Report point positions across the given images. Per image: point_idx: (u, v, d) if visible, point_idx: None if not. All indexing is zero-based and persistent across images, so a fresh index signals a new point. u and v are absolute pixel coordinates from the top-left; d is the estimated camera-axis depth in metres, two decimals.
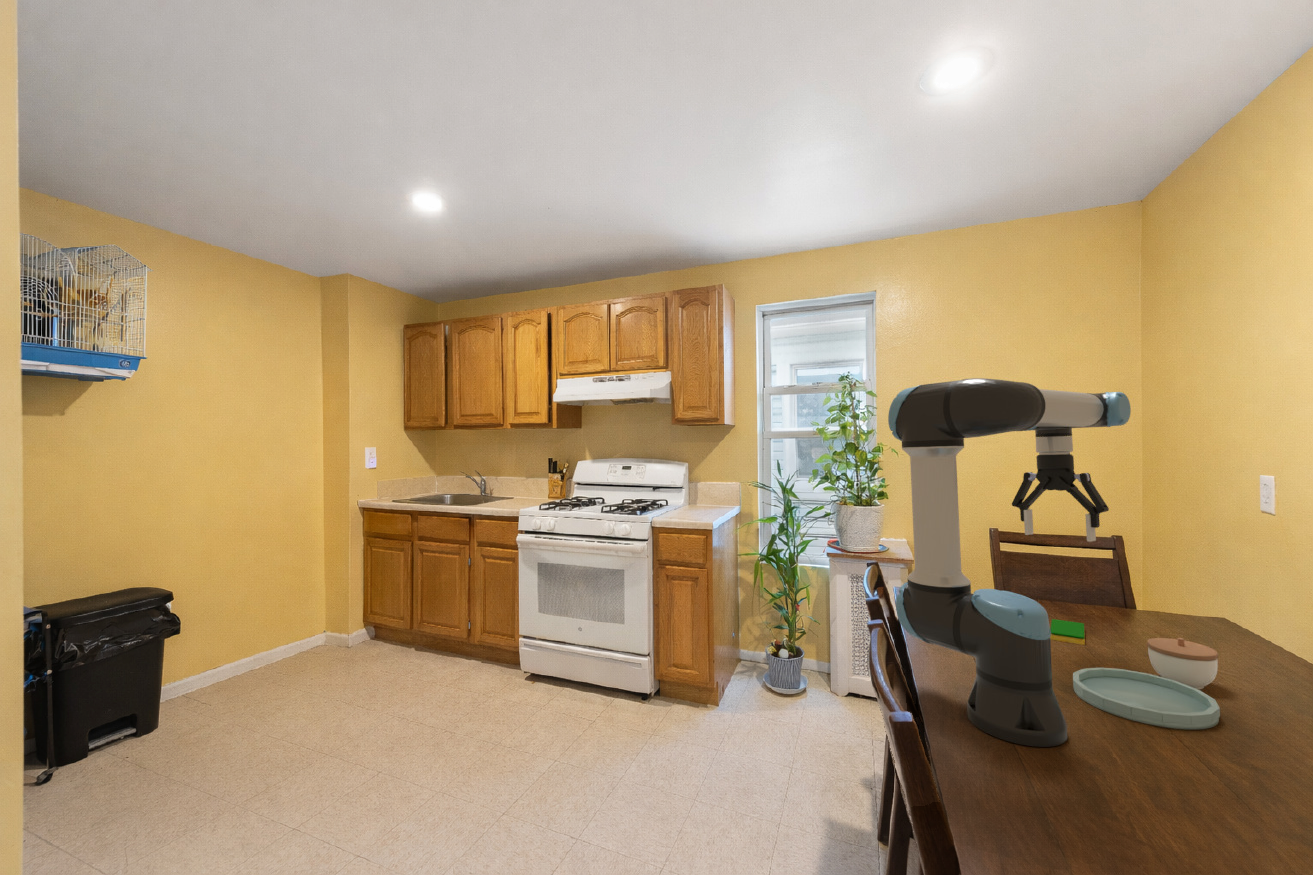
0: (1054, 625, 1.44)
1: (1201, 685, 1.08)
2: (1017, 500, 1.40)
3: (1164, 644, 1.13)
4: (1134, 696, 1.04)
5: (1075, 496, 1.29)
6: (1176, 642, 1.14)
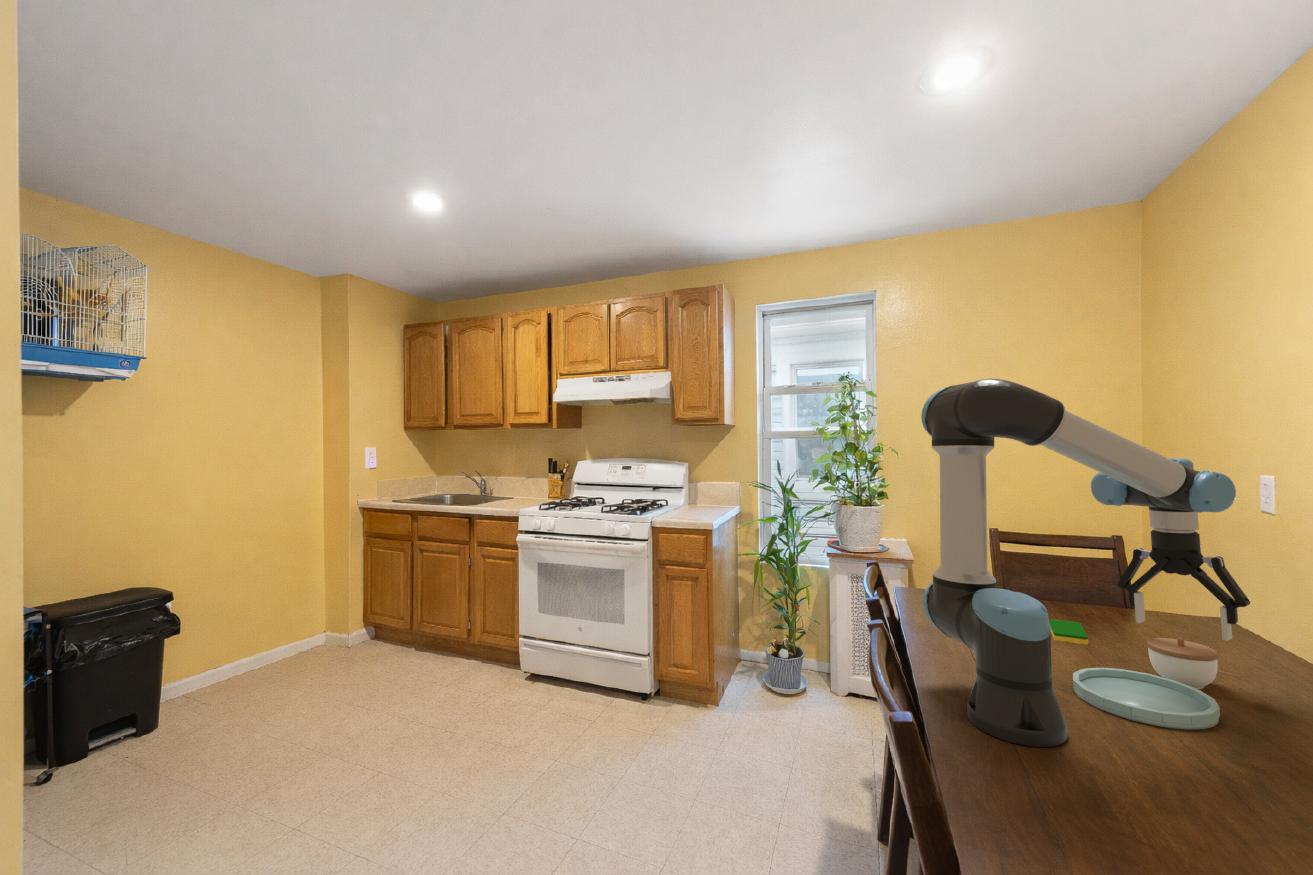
0: (1054, 625, 1.44)
1: (1201, 685, 1.08)
2: (1125, 581, 1.19)
3: (1164, 644, 1.13)
4: (1134, 696, 1.04)
5: (1205, 584, 1.08)
6: (1176, 642, 1.14)
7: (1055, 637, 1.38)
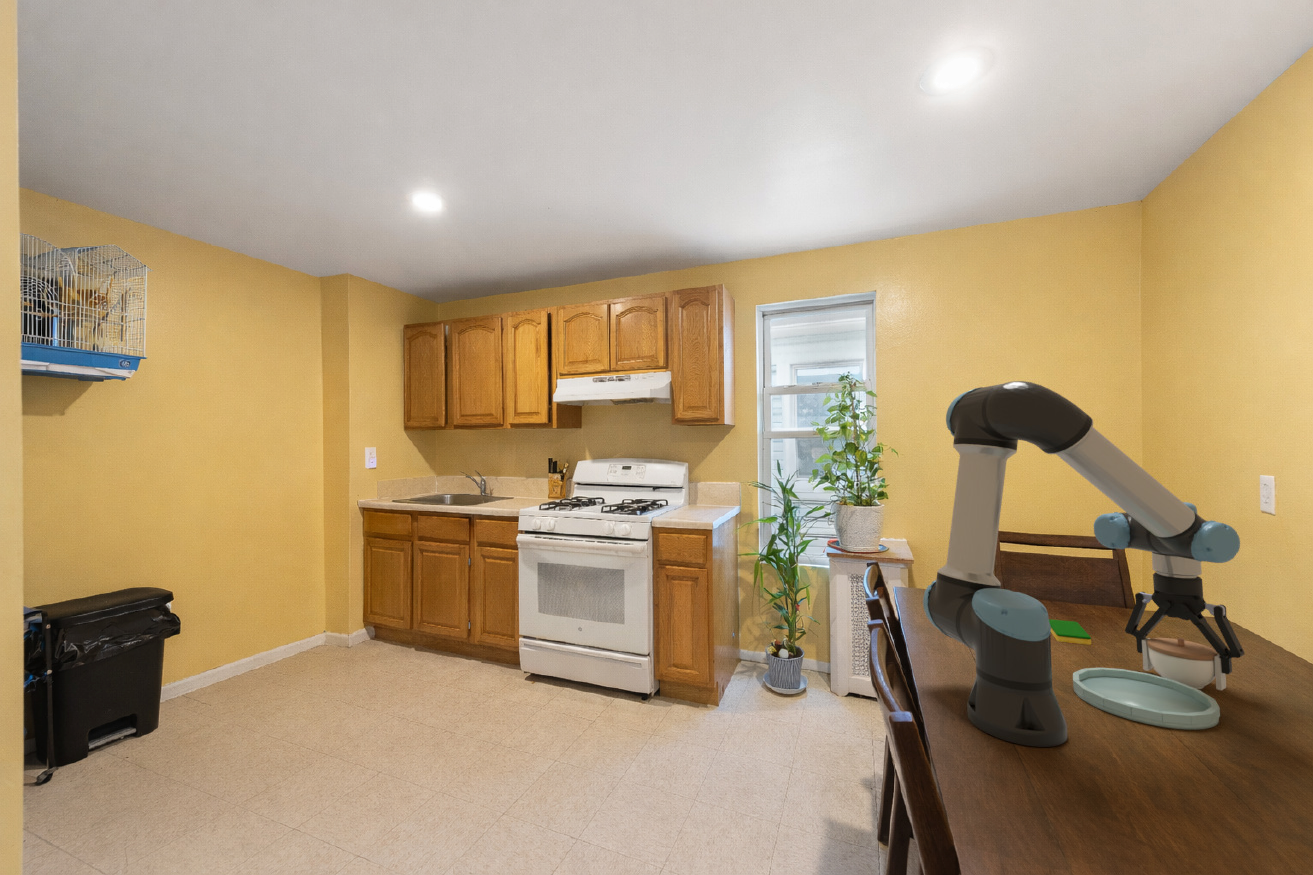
0: (1054, 625, 1.43)
1: (1201, 685, 1.08)
2: (1132, 626, 1.18)
3: (1164, 644, 1.13)
4: (1134, 696, 1.04)
5: (1203, 631, 1.08)
6: (1176, 642, 1.14)
7: (1058, 638, 1.37)
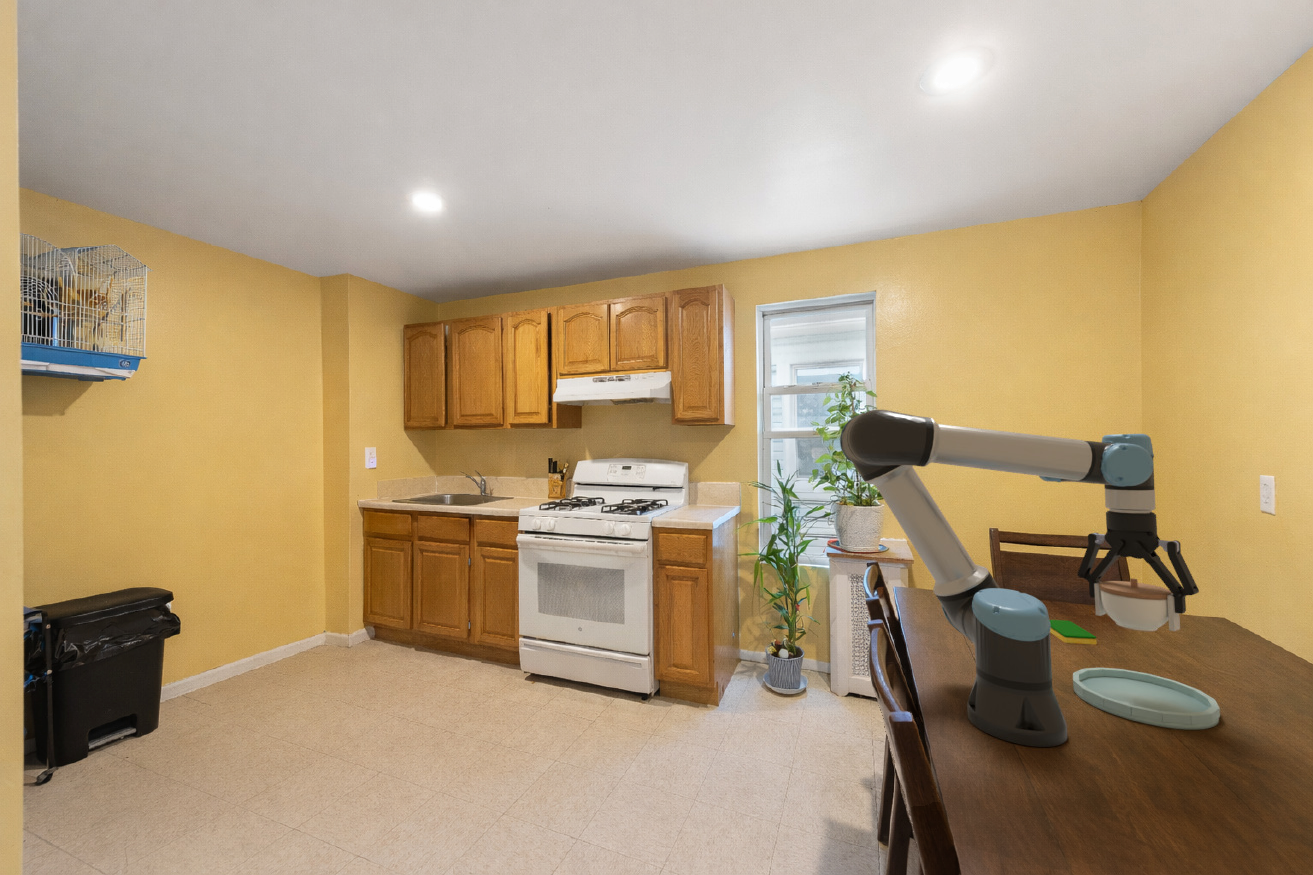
0: (1055, 626, 1.43)
1: (1153, 626, 1.01)
2: (1084, 569, 1.11)
3: (1116, 585, 1.05)
4: (1134, 696, 1.04)
5: (1156, 569, 1.01)
6: (1130, 584, 1.07)
7: (1066, 639, 1.36)
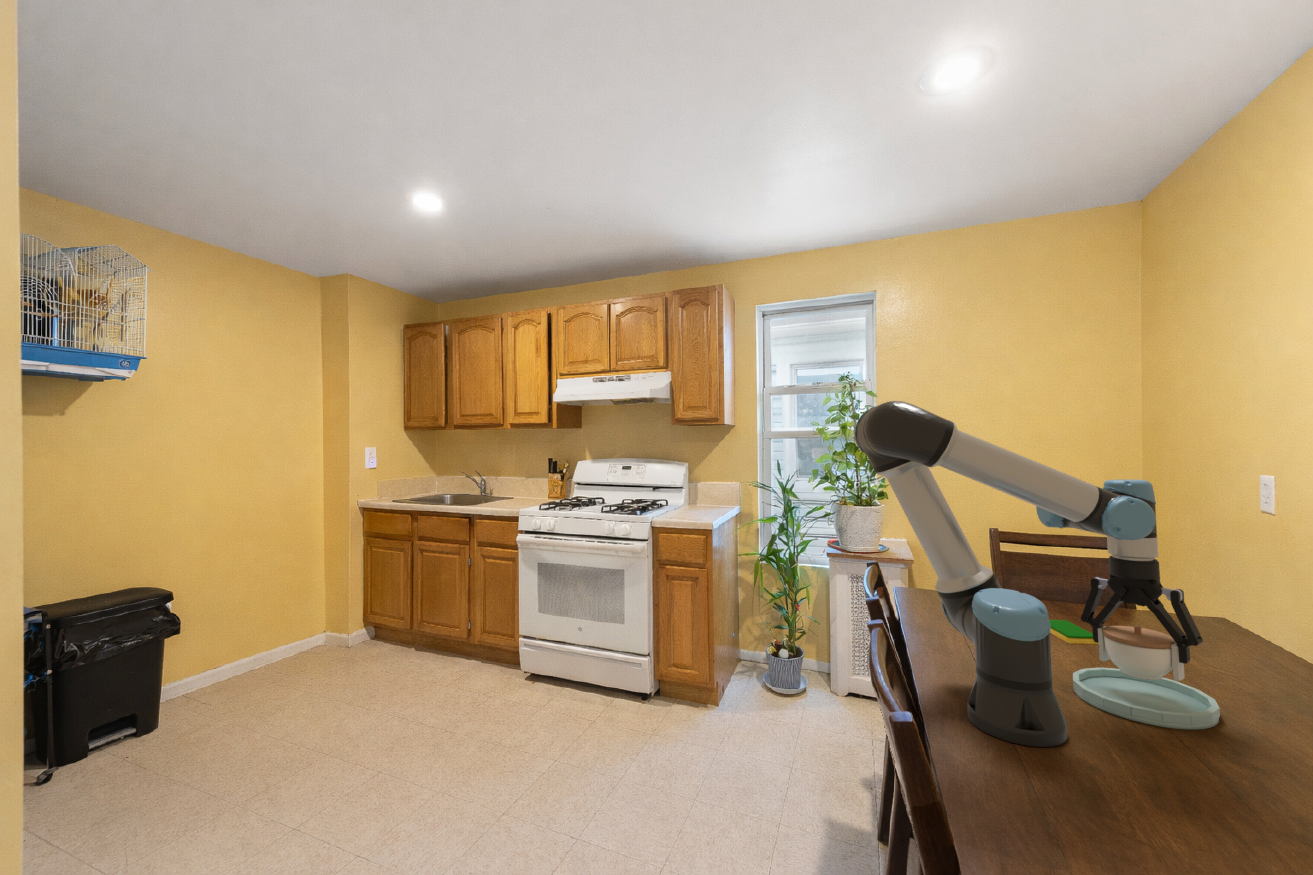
0: (1055, 626, 1.43)
1: (1158, 675, 1.00)
2: (1087, 614, 1.10)
3: (1120, 632, 1.05)
4: (1134, 696, 1.04)
5: (1160, 618, 1.00)
6: (1133, 630, 1.06)
7: (1069, 640, 1.36)
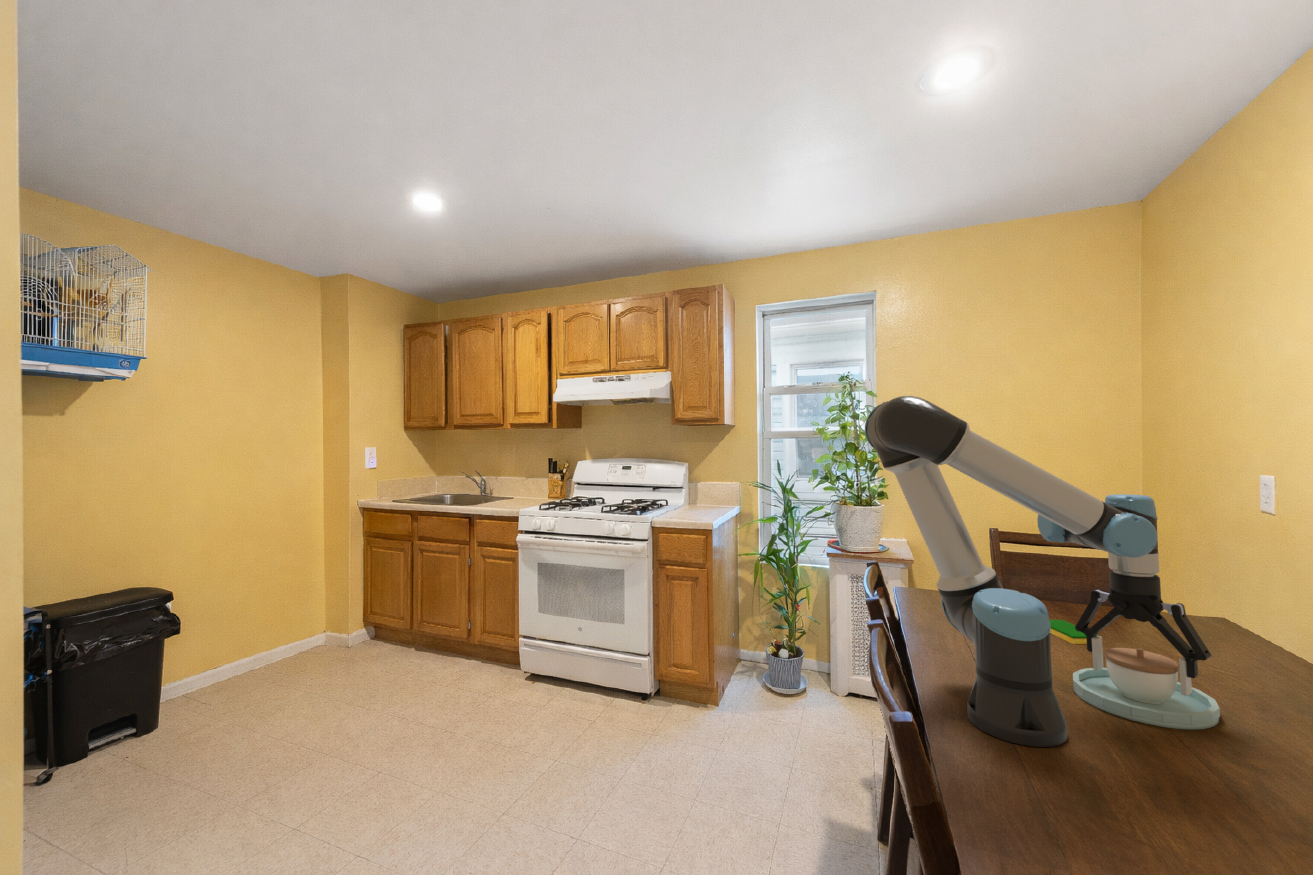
0: (1056, 627, 1.42)
1: (1160, 700, 1.00)
2: (1082, 624, 1.11)
3: (1122, 655, 1.05)
4: None
5: (1164, 633, 1.00)
6: (1135, 653, 1.06)
7: (1074, 640, 1.35)
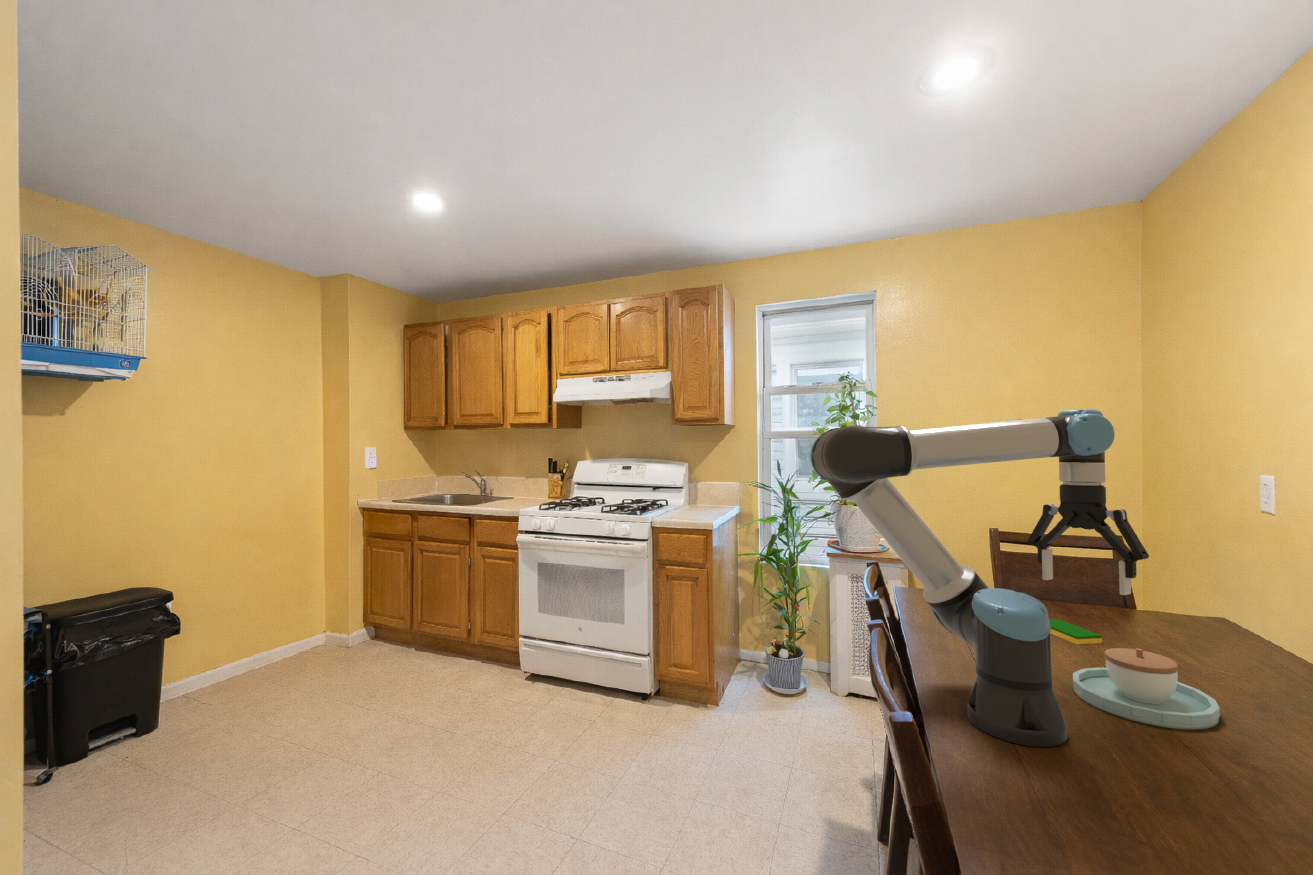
0: (1057, 627, 1.42)
1: (1160, 700, 1.00)
2: (1034, 537, 1.16)
3: (1122, 655, 1.05)
4: None
5: (1106, 538, 1.05)
6: (1135, 653, 1.06)
7: (1078, 641, 1.35)
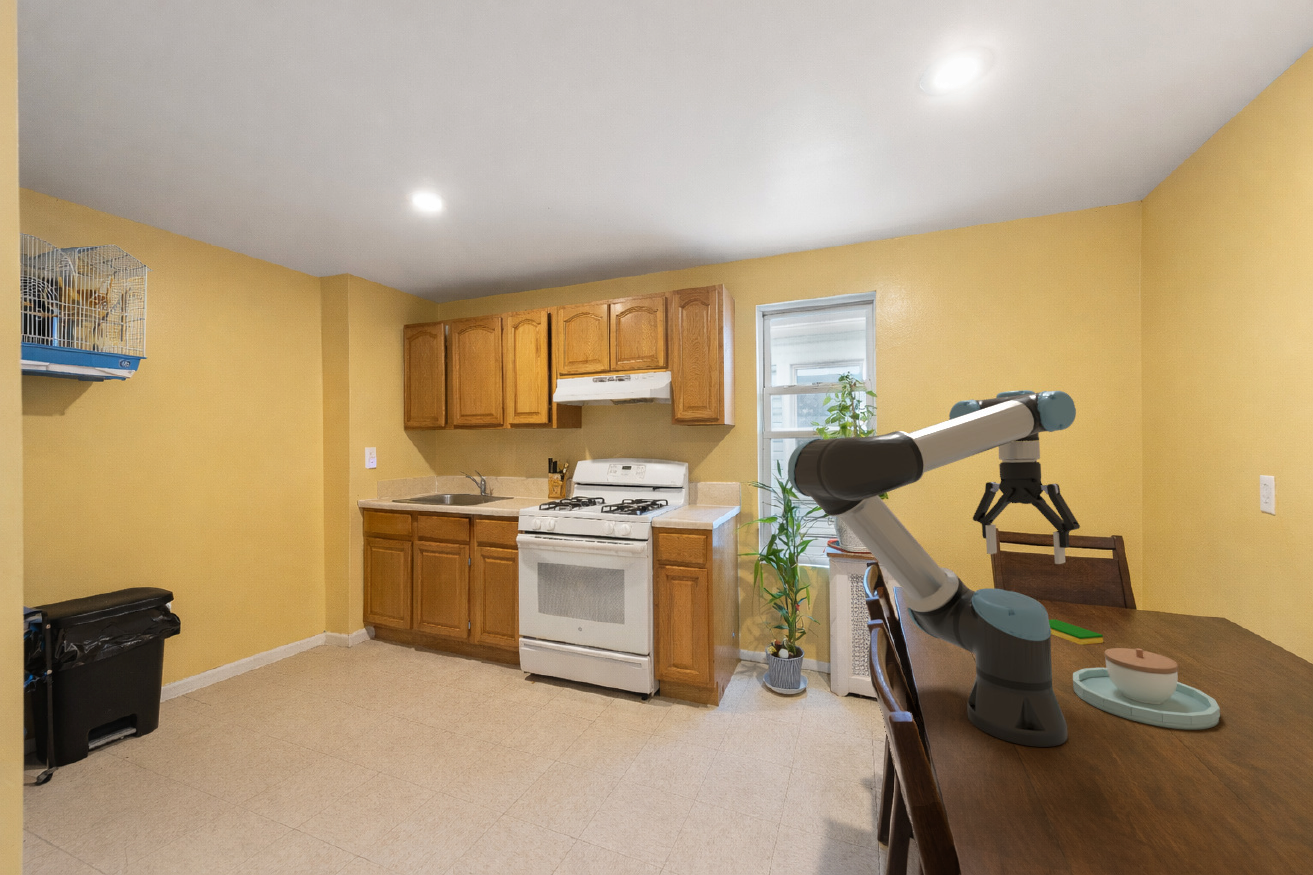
0: (1058, 627, 1.42)
1: (1160, 700, 1.00)
2: (978, 514, 1.22)
3: (1122, 655, 1.05)
4: None
5: (1042, 511, 1.11)
6: (1135, 653, 1.06)
7: (1081, 641, 1.35)
